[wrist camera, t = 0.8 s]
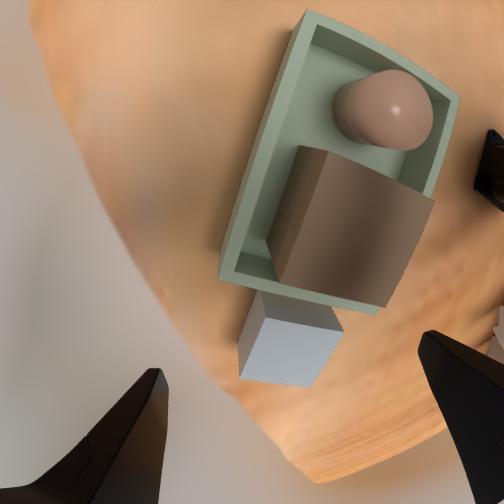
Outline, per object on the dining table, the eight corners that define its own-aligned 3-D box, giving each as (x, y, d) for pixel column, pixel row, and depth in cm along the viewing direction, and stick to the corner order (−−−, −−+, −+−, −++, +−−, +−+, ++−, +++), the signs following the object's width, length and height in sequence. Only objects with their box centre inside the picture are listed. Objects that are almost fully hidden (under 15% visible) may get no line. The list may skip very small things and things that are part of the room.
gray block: (327, 299, 24) (344, 332, 20) (300, 351, 26) (310, 387, 22) (259, 283, 23) (265, 317, 18) (237, 341, 25) (239, 378, 21)
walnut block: (386, 180, 19) (434, 200, 14) (351, 265, 22) (385, 307, 16) (299, 145, 18) (328, 150, 12) (265, 241, 20) (279, 283, 15)
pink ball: (397, 98, 17) (440, 95, 12) (380, 154, 18) (420, 163, 14) (343, 70, 16) (376, 54, 11) (323, 129, 18) (353, 129, 13)
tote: (428, 98, 17) (460, 96, 14) (356, 288, 23) (375, 315, 20) (293, 29, 15) (307, 8, 11) (219, 253, 21) (217, 279, 17)
